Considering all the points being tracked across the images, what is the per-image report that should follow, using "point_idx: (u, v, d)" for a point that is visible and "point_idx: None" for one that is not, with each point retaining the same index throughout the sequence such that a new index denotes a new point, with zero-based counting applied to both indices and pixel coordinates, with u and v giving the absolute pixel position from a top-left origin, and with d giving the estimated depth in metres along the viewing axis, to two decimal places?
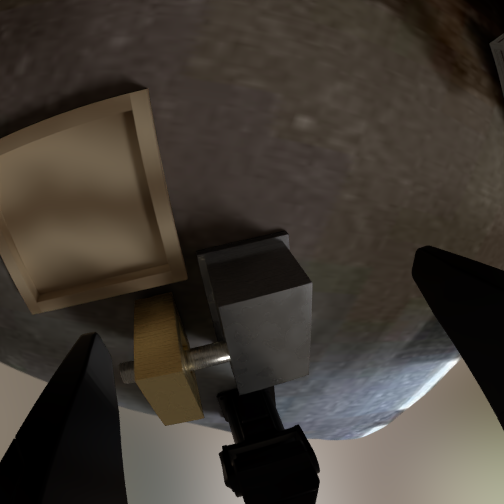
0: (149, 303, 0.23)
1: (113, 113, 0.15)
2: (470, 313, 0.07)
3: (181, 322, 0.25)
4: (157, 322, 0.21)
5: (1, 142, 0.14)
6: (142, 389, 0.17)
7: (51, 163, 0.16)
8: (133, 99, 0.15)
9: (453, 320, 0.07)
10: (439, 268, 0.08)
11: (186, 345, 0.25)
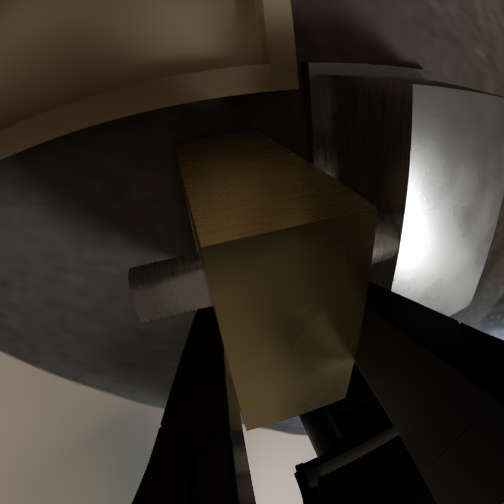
0: (210, 140, 0.11)
1: None
2: (382, 357, 0.06)
3: None
4: (240, 152, 0.09)
5: None
6: (220, 297, 0.05)
7: None
8: None
9: (367, 361, 0.07)
10: None
11: None
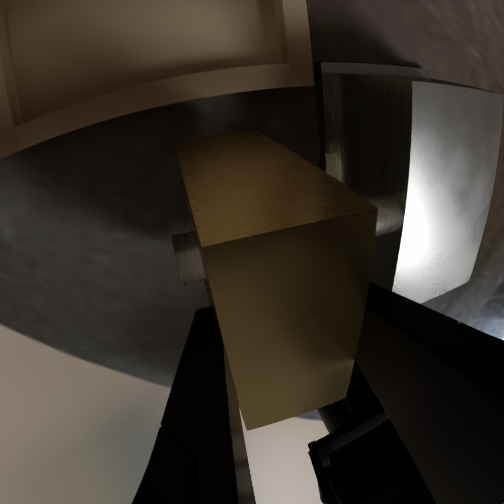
0: (210, 140, 0.11)
1: None
2: (382, 357, 0.06)
3: None
4: (241, 152, 0.09)
5: None
6: (221, 297, 0.05)
7: None
8: None
9: (367, 361, 0.07)
10: None
11: None
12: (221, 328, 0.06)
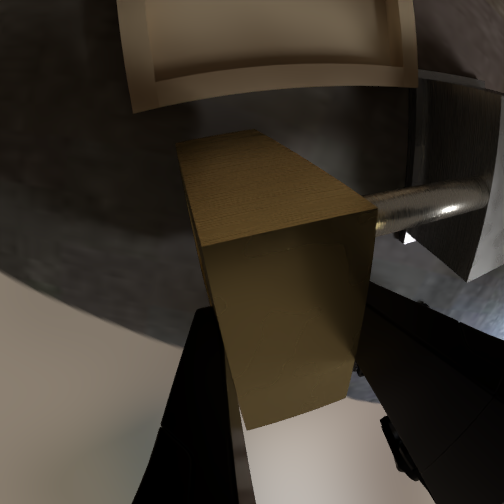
0: (210, 140, 0.11)
1: None
2: (382, 357, 0.06)
3: None
4: (240, 152, 0.09)
5: None
6: (220, 297, 0.05)
7: None
8: None
9: (367, 361, 0.07)
10: None
11: None
12: (221, 328, 0.06)
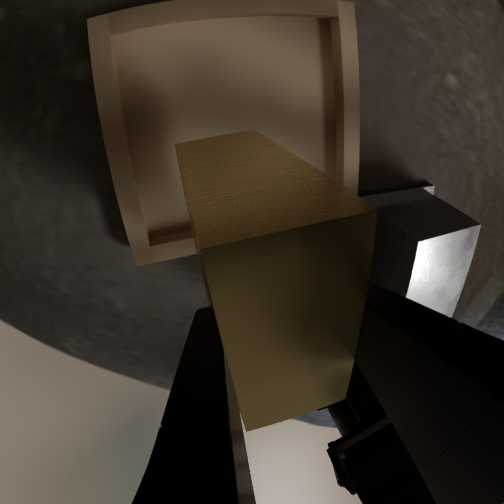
0: (210, 141, 0.11)
1: (319, 13, 0.12)
2: (382, 357, 0.06)
3: None
4: (240, 153, 0.09)
5: (160, 6, 0.10)
6: (219, 299, 0.05)
7: (221, 52, 0.13)
8: (340, 7, 0.12)
9: (367, 361, 0.07)
10: None
11: None
12: (220, 330, 0.06)
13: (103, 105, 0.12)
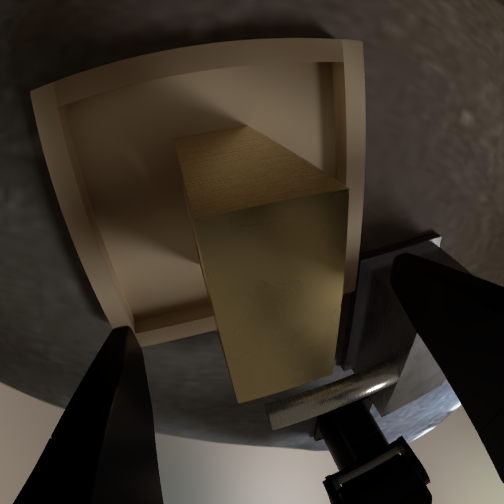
0: (206, 136, 0.11)
1: (319, 59, 0.11)
2: (448, 325, 0.07)
3: None
4: (233, 145, 0.10)
5: (114, 68, 0.09)
6: (210, 265, 0.06)
7: (196, 117, 0.12)
8: (346, 48, 0.10)
9: (431, 331, 0.07)
10: (416, 277, 0.07)
11: None
12: (211, 295, 0.06)
13: (63, 197, 0.11)
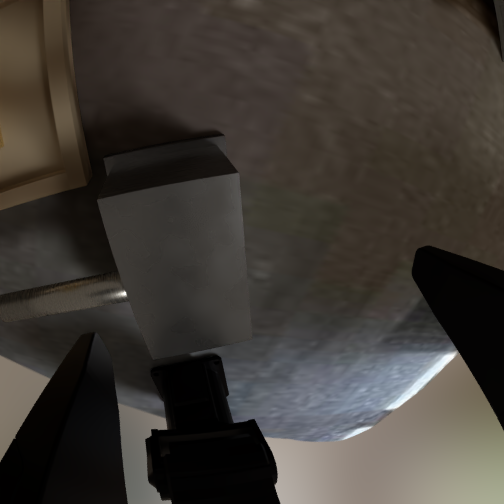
0: None
1: None
2: (470, 313, 0.07)
3: None
4: None
5: None
6: None
7: None
8: None
9: (453, 320, 0.07)
10: (439, 268, 0.08)
11: None
12: None
13: None
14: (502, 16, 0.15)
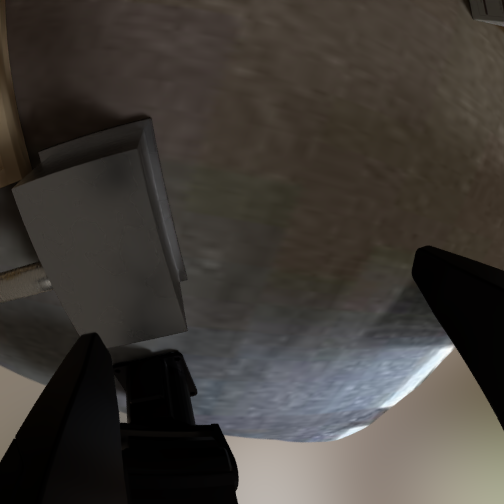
0: None
1: None
2: (470, 313, 0.07)
3: None
4: None
5: None
6: None
7: None
8: None
9: (453, 320, 0.07)
10: (439, 268, 0.08)
11: None
12: None
13: None
14: None
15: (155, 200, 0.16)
